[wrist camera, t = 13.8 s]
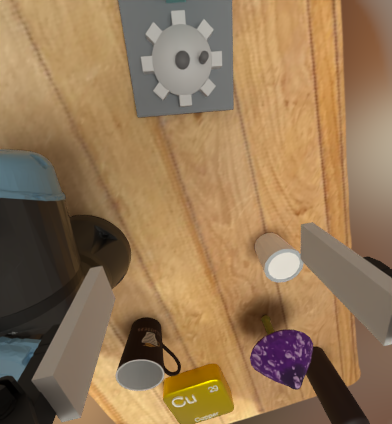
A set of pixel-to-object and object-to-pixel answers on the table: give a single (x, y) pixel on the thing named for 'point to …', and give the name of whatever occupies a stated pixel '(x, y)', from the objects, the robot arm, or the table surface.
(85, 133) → the table surface
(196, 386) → the element tile
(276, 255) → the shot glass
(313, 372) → the bottle
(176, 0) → the idler gear
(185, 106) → the gear board
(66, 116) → the table surface
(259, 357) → the decorative mushroom
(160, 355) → the coffee mug
